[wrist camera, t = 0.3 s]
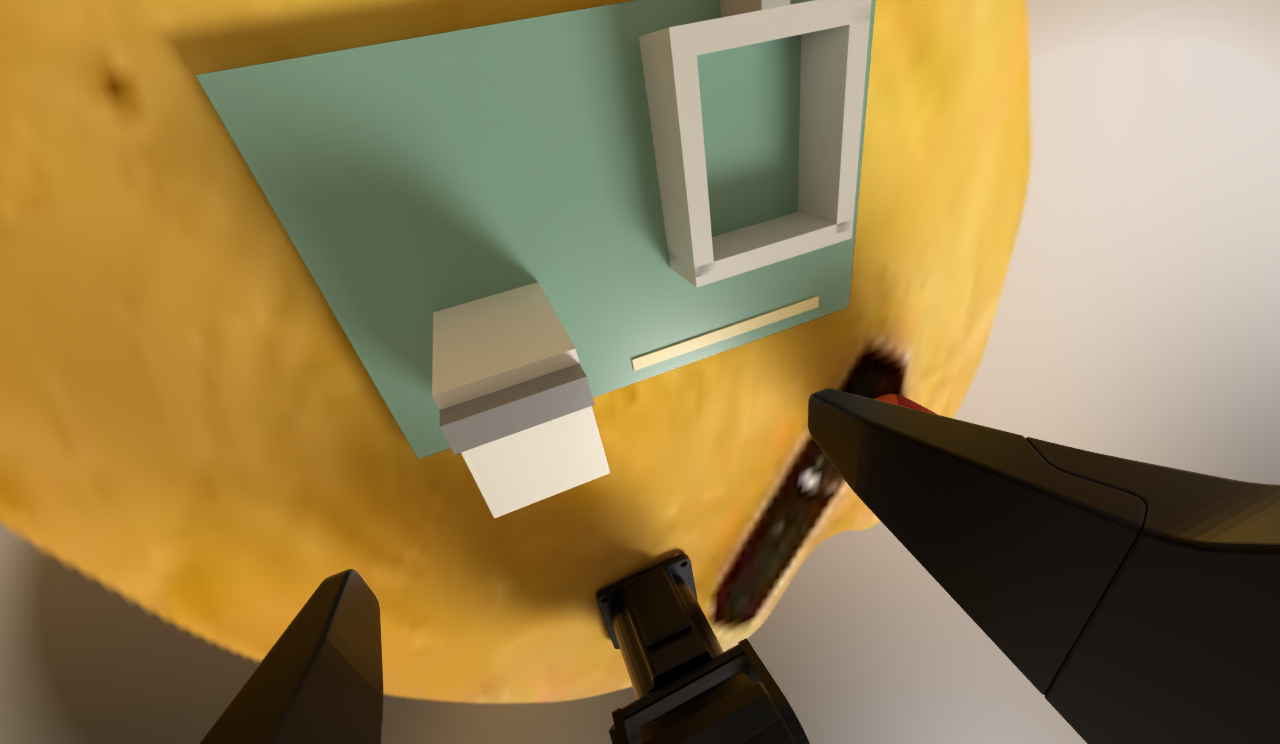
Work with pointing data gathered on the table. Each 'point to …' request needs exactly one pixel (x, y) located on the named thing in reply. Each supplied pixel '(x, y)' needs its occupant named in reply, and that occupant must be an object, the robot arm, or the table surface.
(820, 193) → the board
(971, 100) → the table surface
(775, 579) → the table surface
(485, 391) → the plug
